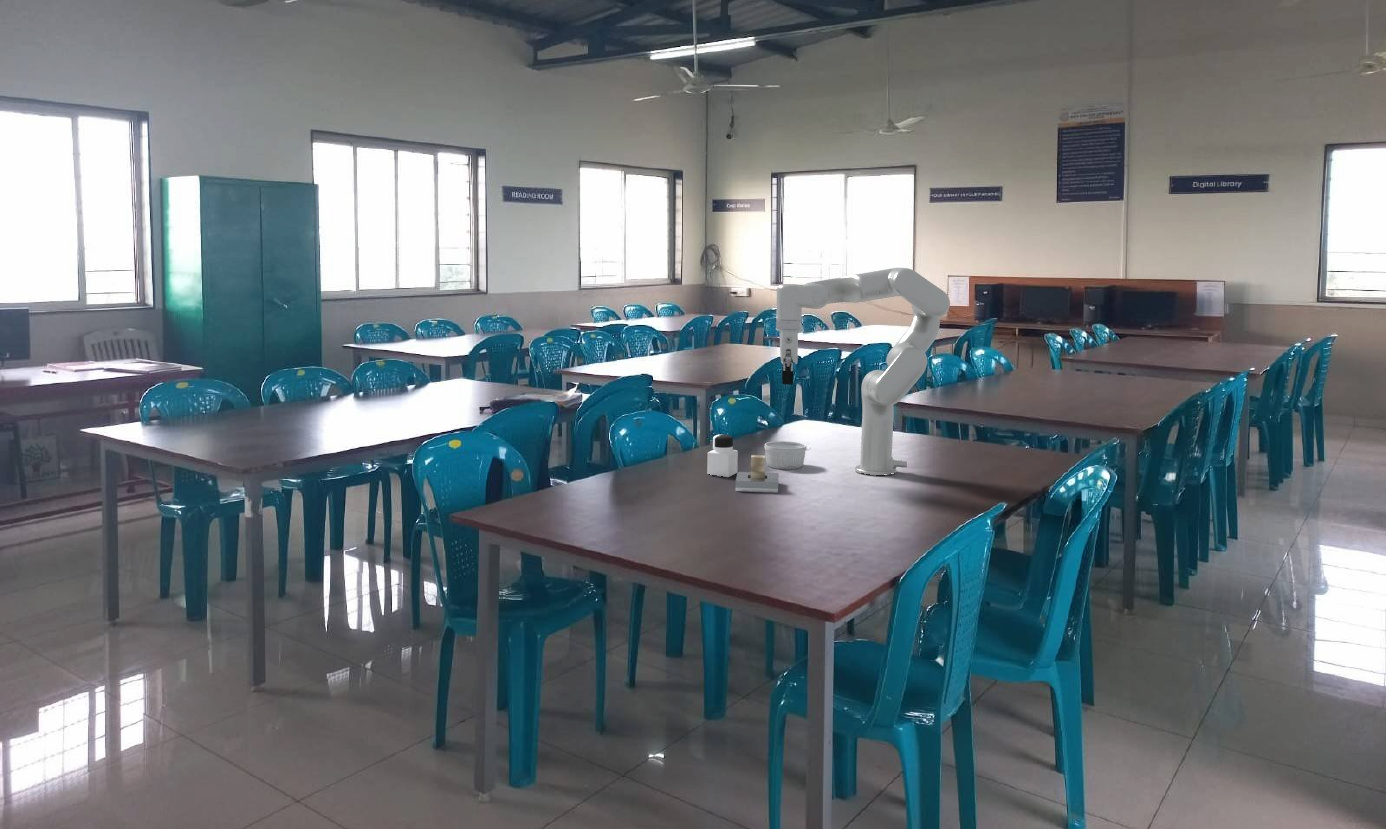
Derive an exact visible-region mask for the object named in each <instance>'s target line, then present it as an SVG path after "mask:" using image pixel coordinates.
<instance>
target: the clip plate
mask: <svg viewBox="0 0 1386 829" xmlns="http://www.w3.org/2000/svg"><path fill="white" fill-rule="evenodd" d="M735 492H745V493H746V492H747V493H748V492H749V493H751V492H752V493H779V473H778V472H765V479H755V478H751V471H737V473H736V478H735Z"/></svg>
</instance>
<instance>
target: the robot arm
mask: <svg viewBox="0 0 1386 829" xmlns="http://www.w3.org/2000/svg"><path fill="white" fill-rule="evenodd" d="M894 297H901V298H903V299H904V300H906V301H907V302H908V303H909V304H910V305H911V309H912V314H913V317H912V322H911V323H910V325H909V327H908V328H907V329H906V331H905V332H904V334H902V336H901V337H900V338H899V339H898V341H897V342H896V343H895V344H894V345H893V346H892V347H891V348H890V350H889V352H888V353H887V355H886V365H887V366H888V367H887V369H885V370H883V369H874V370H872V371H869V372H868V373H867V374H866V375H865V376H864V378H863V379H862V383H861V390H860V391H861V404H862V406H861V407H862V412H861V413H862V414H861V416H862V419H861V420H862V421H861V436H860V438H861V441H860V461H859V462H860V464H858V465H856V466H855V467H854V470H855V472H856V473H858V474H861V473H864V474H863V475H866V474H870V475H869V476H876V475H884V474H891V473H895V474H897V468H907V467H908V461H906V460H905V461H904V460H895V459H894V457H893V437H894V434H893V433H894V420H895V418H894V417H895V414H894V413H895V412H894V411H895V410H894V405H896V404H897V403H898V402H900V401H901V400H902V399H903V398H904V397H905V396H906V395H907V393H909V391H911V389H912V388H913V386H914V385H915V384H916V383H917V382H918V381H919V379H920V378H921V377H922V376H923V374H924V373H925V371H926V368H927V365H928V358H927V355H926V352H927V351H928V349H929V348H930V347H931V345H932V344H933V343H934V342H935V341H936V338H937V337H938V334H939V331H940V324H941V322H940V321H941V319H940V318H942V317H944V316H945V315H947V313H948V311H949V310H950V307H951V300H950V297H949V295H948V294H947V293H946V292H945V291H944V290H943V289H942V288H939V287H938V286H937V285H935V284H934V283H932V282H931V281H930V280H928V279H927V278H925V277H924V276H922V275H921V274H920V273H918V272H917V271H915V270H913V269H911V268H908V267H891V268H886V269H882V270H873V271H869V272H862V273H857V274H851V275H846V276H841V277H834V278H829V279H823V280H817V281H811V282H806V283H804V284H802V285H800V284H795V283H794V284H793V283H782V284H779V285H778V286H777V287H776V311H775V312H776V314H775V316H776V317H775V318H776V319H775V331H777V332H779V354H780V355H779V357H780V362H781V364H782V367H781V371H782V372H781V383H782V385H788V386H790V385H791V386H793V385H794V370H793V369H794V368H793V366H794V365H793V364H795V365H797V364H798V359H799V357H798V356H799V354H798V352H799V351H798V350H799V348H798V347H799V334H798V332H802V316H803V315H802V314H803V313H802V312H803V311H802V308H805V309H811V310H820V309H823V308H824V307H826V306H827V305H829V304H837V303H838V304H839V303H855V304H857V303H858V304H859V303H866V302H870V301H876V300H882V299H883V300H884V299H888V298H894Z"/></svg>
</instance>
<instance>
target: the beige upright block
mask: <svg viewBox="0 0 1386 829" xmlns="http://www.w3.org/2000/svg"><path fill="white" fill-rule="evenodd" d="M750 472H751V478H755V479H765V473H766V455H761V454H760V455H758V454H757V455H756V454H751V457H750Z"/></svg>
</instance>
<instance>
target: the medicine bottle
mask: <svg viewBox="0 0 1386 829" xmlns="http://www.w3.org/2000/svg"><path fill="white" fill-rule="evenodd" d="M738 457H739V451H738V450H737V449H734V437H733V436H731V435H729V434H723V433H722V434H716V435H714V436H713V438H712V450H710V451H708V452H707V463H706V464H707V467H706V468H707V470H706V473H707V474H710V475H709V476H712V475H717V476H716V477H721V476H723V478H729V477H732V476H734V475H735V474H736V475H737V472H738V467H739V466H738V460H739V459H738Z"/></svg>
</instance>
